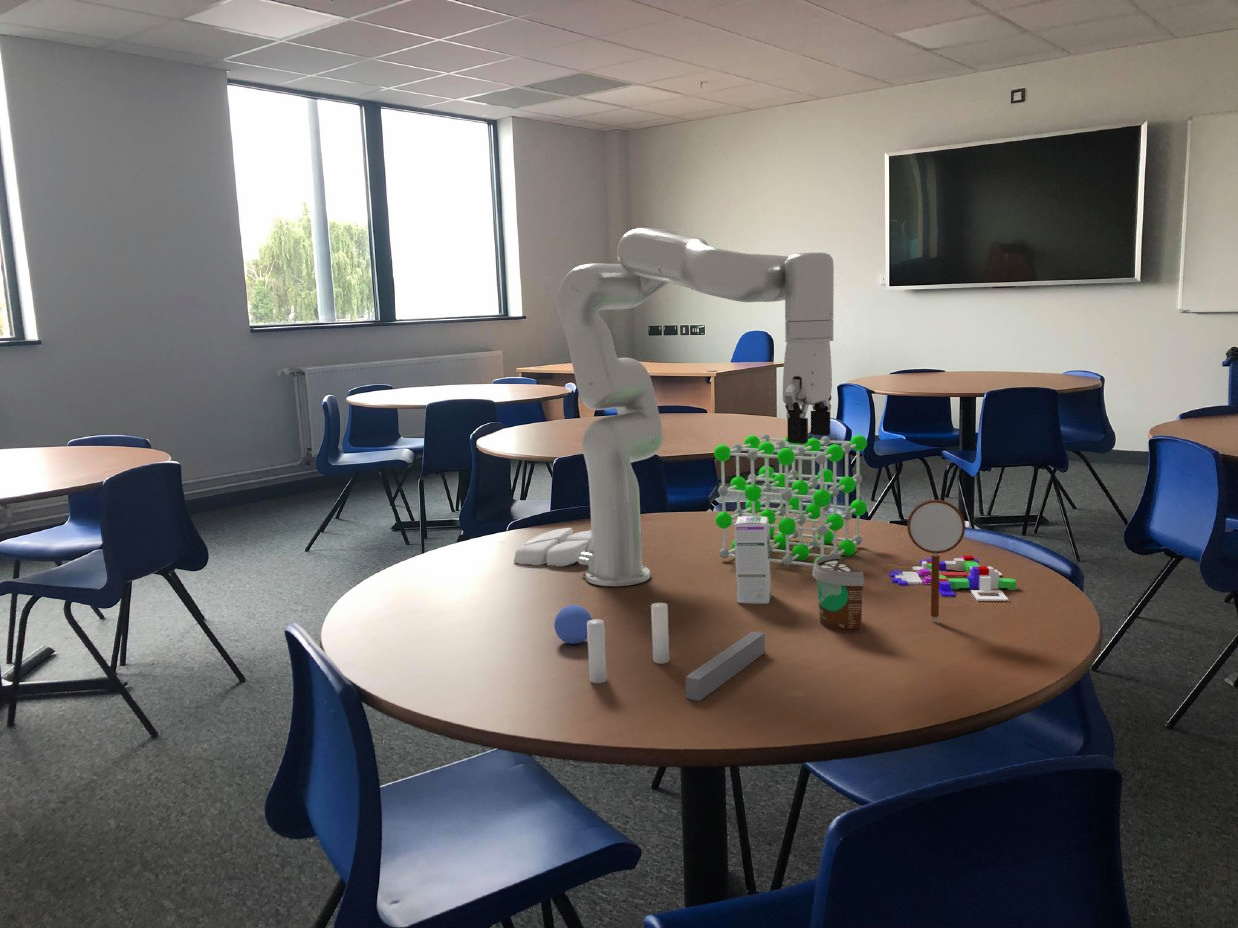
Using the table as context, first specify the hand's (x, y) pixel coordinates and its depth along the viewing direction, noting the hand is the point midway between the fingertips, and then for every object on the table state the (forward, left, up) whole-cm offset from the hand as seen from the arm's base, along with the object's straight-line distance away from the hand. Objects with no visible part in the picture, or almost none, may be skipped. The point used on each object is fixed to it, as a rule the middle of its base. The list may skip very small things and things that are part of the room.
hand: (809, 438), depth 151 cm
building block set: (+15, +29, -31) cm, 45 cm away
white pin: (-11, -30, -30) cm, 43 cm away
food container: (+5, -3, -30) cm, 30 cm away
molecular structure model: (-18, +34, -30) cm, 49 cm away
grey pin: (-15, -40, -30) cm, 52 cm away
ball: (-27, -30, -27) cm, 48 cm away
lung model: (-63, +15, -30) cm, 71 cm away
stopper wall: (0, -30, -30) cm, 42 cm away
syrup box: (-12, +3, -30) cm, 32 cm away
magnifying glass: (+19, +5, -30) cm, 36 cm away
